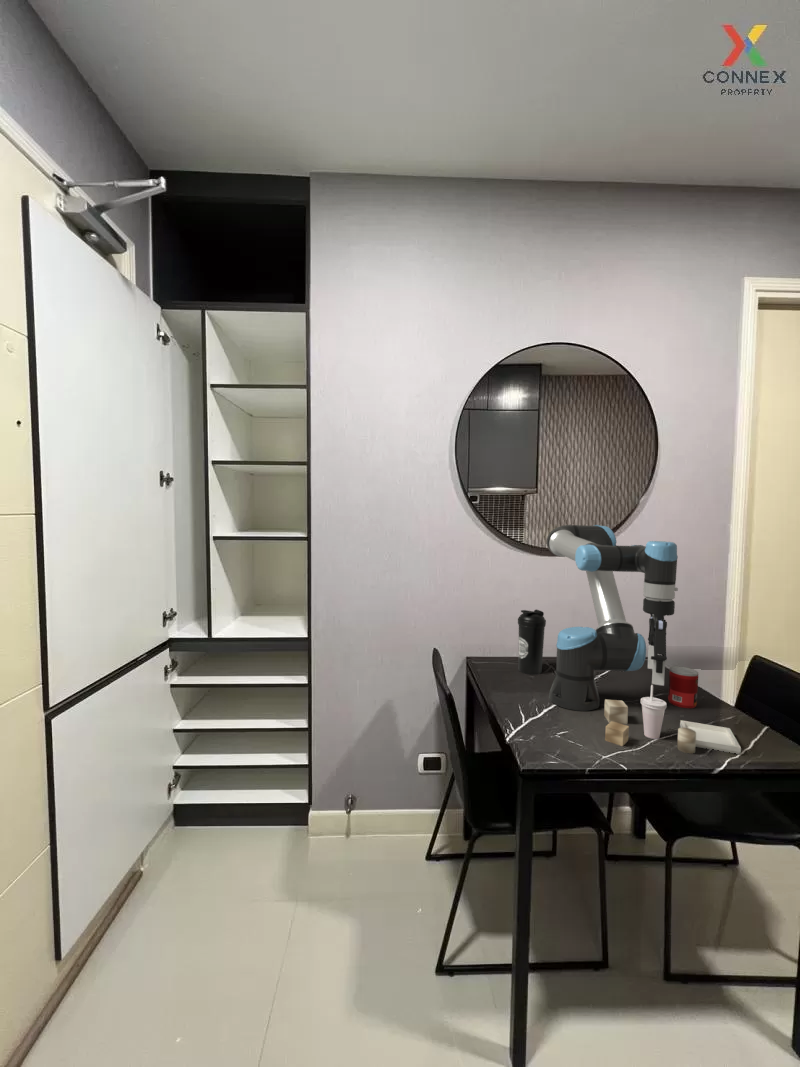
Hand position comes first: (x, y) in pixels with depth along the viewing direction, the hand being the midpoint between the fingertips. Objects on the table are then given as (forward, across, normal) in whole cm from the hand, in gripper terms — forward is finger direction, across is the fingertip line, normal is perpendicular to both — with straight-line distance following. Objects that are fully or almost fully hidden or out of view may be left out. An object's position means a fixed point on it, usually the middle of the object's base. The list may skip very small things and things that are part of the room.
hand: (655, 676), depth 133 cm
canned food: (+17, +29, -11) cm, 35 cm away
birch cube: (+17, +7, +9) cm, 20 cm away
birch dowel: (+17, -5, -7) cm, 19 cm away
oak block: (+17, -7, +9) cm, 20 cm away
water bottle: (+16, +40, +38) cm, 58 cm away
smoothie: (+17, 0, 0) cm, 17 cm away
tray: (+17, +4, -14) cm, 22 cm away
